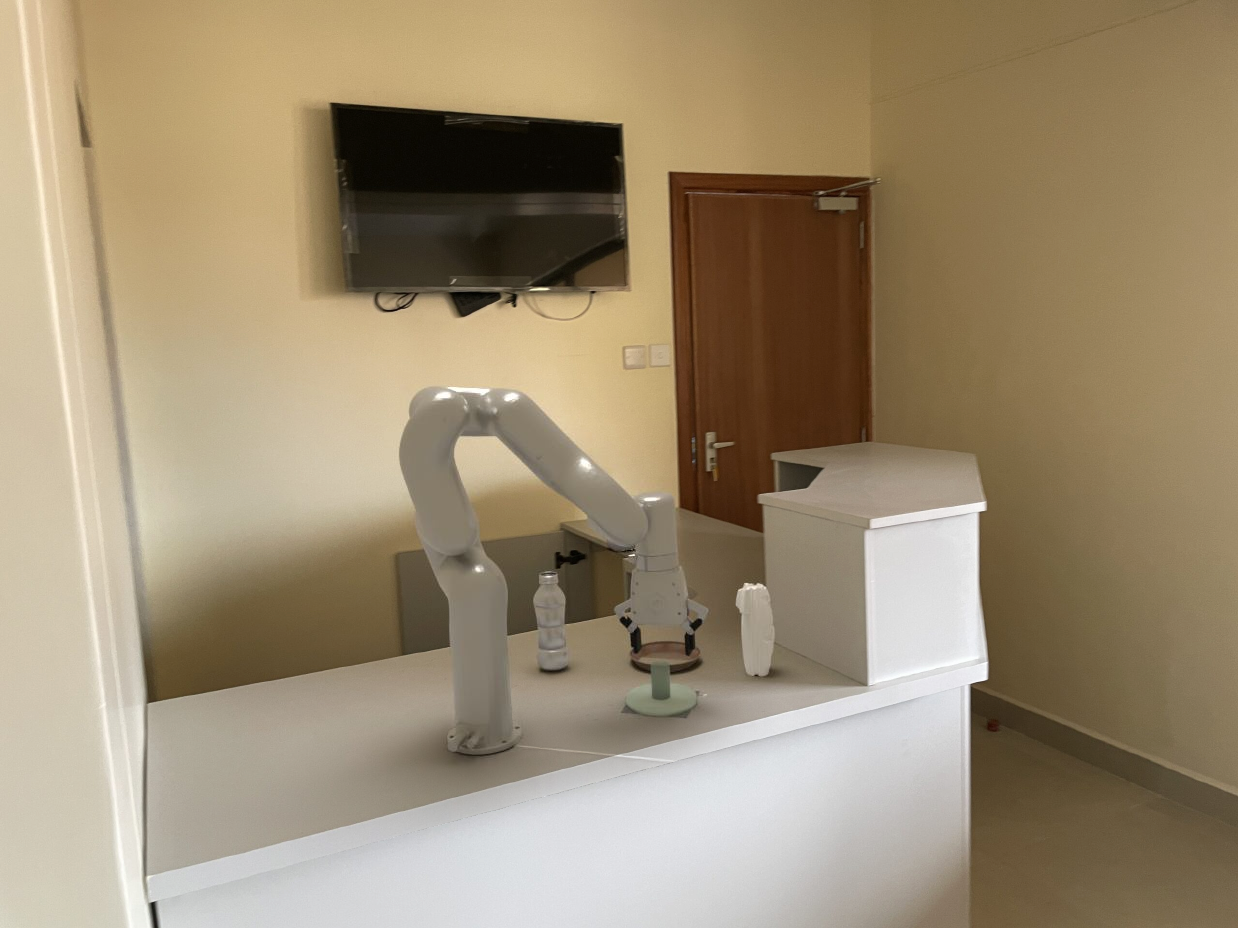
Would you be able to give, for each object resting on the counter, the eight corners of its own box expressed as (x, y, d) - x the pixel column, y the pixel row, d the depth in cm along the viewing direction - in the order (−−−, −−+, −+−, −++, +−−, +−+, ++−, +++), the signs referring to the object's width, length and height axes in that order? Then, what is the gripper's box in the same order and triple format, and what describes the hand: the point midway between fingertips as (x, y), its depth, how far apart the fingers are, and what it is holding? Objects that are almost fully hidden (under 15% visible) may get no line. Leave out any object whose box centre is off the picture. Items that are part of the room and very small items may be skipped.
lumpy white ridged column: (736, 679, 171) (775, 680, 169) (733, 589, 168) (773, 590, 167) (739, 667, 177) (776, 668, 176) (736, 580, 175) (773, 580, 173)
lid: (688, 719, 153) (687, 680, 152) (617, 713, 157) (615, 675, 156) (703, 690, 165) (702, 654, 164) (636, 685, 169) (635, 650, 168)
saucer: (647, 648, 191) (646, 636, 191) (711, 656, 184) (711, 644, 184) (617, 672, 178) (616, 659, 178) (685, 682, 171) (685, 668, 171)
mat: (686, 719, 154) (686, 717, 154) (620, 714, 157) (620, 712, 157) (700, 692, 165) (699, 690, 165) (638, 688, 168) (638, 686, 168)
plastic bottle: (565, 674, 177) (560, 578, 174) (533, 673, 178) (527, 577, 176) (573, 663, 183) (568, 570, 180) (542, 662, 185) (537, 569, 182)
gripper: (605, 566, 156) (612, 657, 159) (700, 567, 151) (706, 661, 154) (617, 555, 164) (623, 643, 166) (708, 555, 159) (713, 646, 161)
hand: (663, 652), depth 160 cm, fingers open, 9 cm apart
